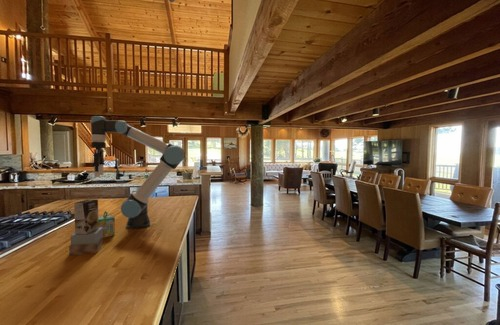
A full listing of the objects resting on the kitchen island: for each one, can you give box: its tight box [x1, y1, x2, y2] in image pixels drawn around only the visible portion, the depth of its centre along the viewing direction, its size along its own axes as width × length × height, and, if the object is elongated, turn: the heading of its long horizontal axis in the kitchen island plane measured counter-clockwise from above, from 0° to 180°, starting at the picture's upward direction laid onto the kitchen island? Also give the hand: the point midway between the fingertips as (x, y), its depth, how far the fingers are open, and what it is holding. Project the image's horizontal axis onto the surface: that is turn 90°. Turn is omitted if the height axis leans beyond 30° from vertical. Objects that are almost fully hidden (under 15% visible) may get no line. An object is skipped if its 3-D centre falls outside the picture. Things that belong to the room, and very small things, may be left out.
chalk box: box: [98, 210, 116, 239], centre depth 146 cm, size 9×9×15 cm
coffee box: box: [73, 199, 99, 234], centre depth 125 cm, size 9×6×16 cm
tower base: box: [68, 236, 104, 256], centre depth 126 cm, size 12×12×5 cm
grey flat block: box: [70, 227, 103, 245], centre depth 126 cm, size 11×11×5 cm
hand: (99, 175), depth 148 cm, fingers open, 13 cm apart
